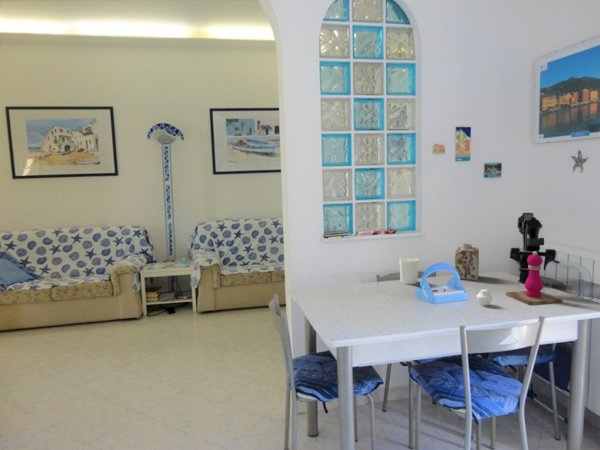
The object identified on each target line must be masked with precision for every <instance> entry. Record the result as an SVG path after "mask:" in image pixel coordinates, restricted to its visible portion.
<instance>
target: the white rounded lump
mask: <svg viewBox="0 0 600 450" xmlns="http://www.w3.org/2000/svg"><path fill="white" fill-rule="evenodd" d="M476 298H477V301H478V303H479V305H480V306H482V307H488V306H489V305H490V304H491V302H492V300H493V295H492V294H491V293H490V291H489V289H485V288H484V289H480V290H479V293H478V294H477V295H476Z"/></svg>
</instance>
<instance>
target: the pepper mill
mask: <svg viewBox="0 0 600 450" xmlns="http://www.w3.org/2000/svg"><path fill="white" fill-rule="evenodd" d="M527 262H528V264H529V265H528V266H529V267H528V268H529V276H528V278H527V280H526V282H525V284H524V288H525V289H526V290H525V291H526V296H529V297H541V296H542V292H543V291H542V290H543V289H544V284H543V281H542V278H541V274H540V273H541V272H540V271H541V269H542V266H541V265H542V264H543V263H544V261H543V257H541V256H539V255H537V252H536V251H534V252H533V255H530V256H529V257H528V259H527ZM540 291H541V292H540Z"/></svg>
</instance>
